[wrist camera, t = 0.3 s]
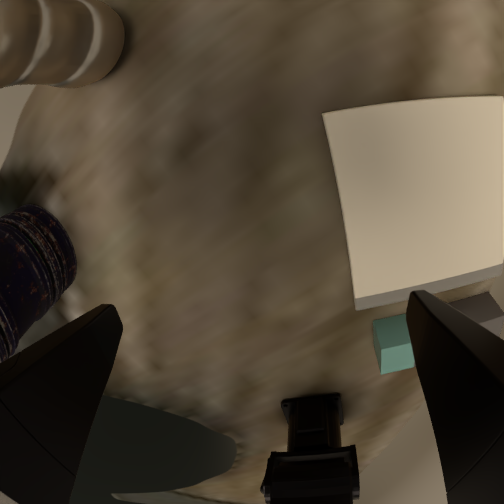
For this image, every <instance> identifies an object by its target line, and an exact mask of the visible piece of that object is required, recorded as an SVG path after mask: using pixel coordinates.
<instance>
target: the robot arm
mask: <svg viewBox="0 0 504 504" xmlns="http://www.w3.org/2000/svg"><path fill="white" fill-rule="evenodd" d="M406 322H407V327H408V331H409V336H410V341H411V346H412V351H413V356H414V361H415V365H416V369H417V372H418V376H419V379H420V382H421V386H422V389H423V392H424V396H425V400H426V403H427V407H428V411H429V414H430V418H431V421H432V426H433V430H434V434H435V438H436V443H437V447H438V452H439V456H440V461H441V466H442V471H443V476H444V482H445V487H446V492H448V493H447V494H446V495H447V501H448V504H504V340H503V339H501V338H500V337H498V336H497V335H495V334H494V333H492V332H491V331H489V330H488V329H486V328H485V327H483V326H481V325H480V324H478V323H477V322H475V321H474V320H472V319H471V318H469V317H468V316H466V315H464V314H463V313H461V312H460V311H458V310H456V309H455V308H453V307H452V306H450V305H449V304H447V303H445V302H444V301H442V300H440V299H439V298H437V297H436V296H434V295H432V294H431V293H429V292H427V291H426V290H423V289H422V290H413V291H411V292H410V295H409V300H408V306H407V312H406ZM122 332H123V325H122V322H121V320H120V317H119V315H118V312H117V310H116V308H115V306H114V305H112V304H101V305H99V306H98V307H96V308H94V309H92V310H91V311H89V312H87V313H85V314H84V315H82V316H80V317H78V318H77V319H75V320H73V321H71V322H70V323H68V324H66V325H64V326H63V327H61V328H59V329H58V330H56V331H54V332H52V333H51V334H49V335H47V336H46V337H44V338H42V339H40V340H39V341H37V342H35V343H34V344H32V345H30V346H29V347H27V348H25V349H24V350H22V351H21V352H18V353H17V354H15V355H13V356H12V357H10V358H8V359H7V360H5V361H3V362H1V363H0V504H69V500H70V497H71V493H72V489H73V486H74V482H75V479H76V475H77V471H78V468H79V464H80V461H81V457H82V455H83V451H84V448H85V445H86V442H87V439H88V435H89V433H90V429H91V426H92V423H93V421H94V418H95V414H96V412H97V409H98V406H99V403H100V400H101V397H102V395H103V392H104V389H105V387H106V384H107V381H108V379H109V376H110V373H111V370H112V367H113V364H114V360H115V357H116V353H117V350H118V346H119V343H120V339H121V336H122ZM281 407H282V410H283V412H284V415H285V417H286V420H287V423H288V425H289V426H288V446H287V452H276V451H274V452H271V455H270V458H268V462H267V469H266V473H265V477H264V479H263V482H262V484H261V487H260V491H261V492H262V493H263V494H264V497H265V501H266V504H353V500H356V499H359V490H360V486H359V470H358V462H357V454H356V447H355V445H350V446H346V447H341V433H340V425H343V423H344V421H343V412H342V403H341V395H340V394H330V395H323V396H316V397H309V398H301V399H292V400H284V401H282V402H281Z"/></svg>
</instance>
